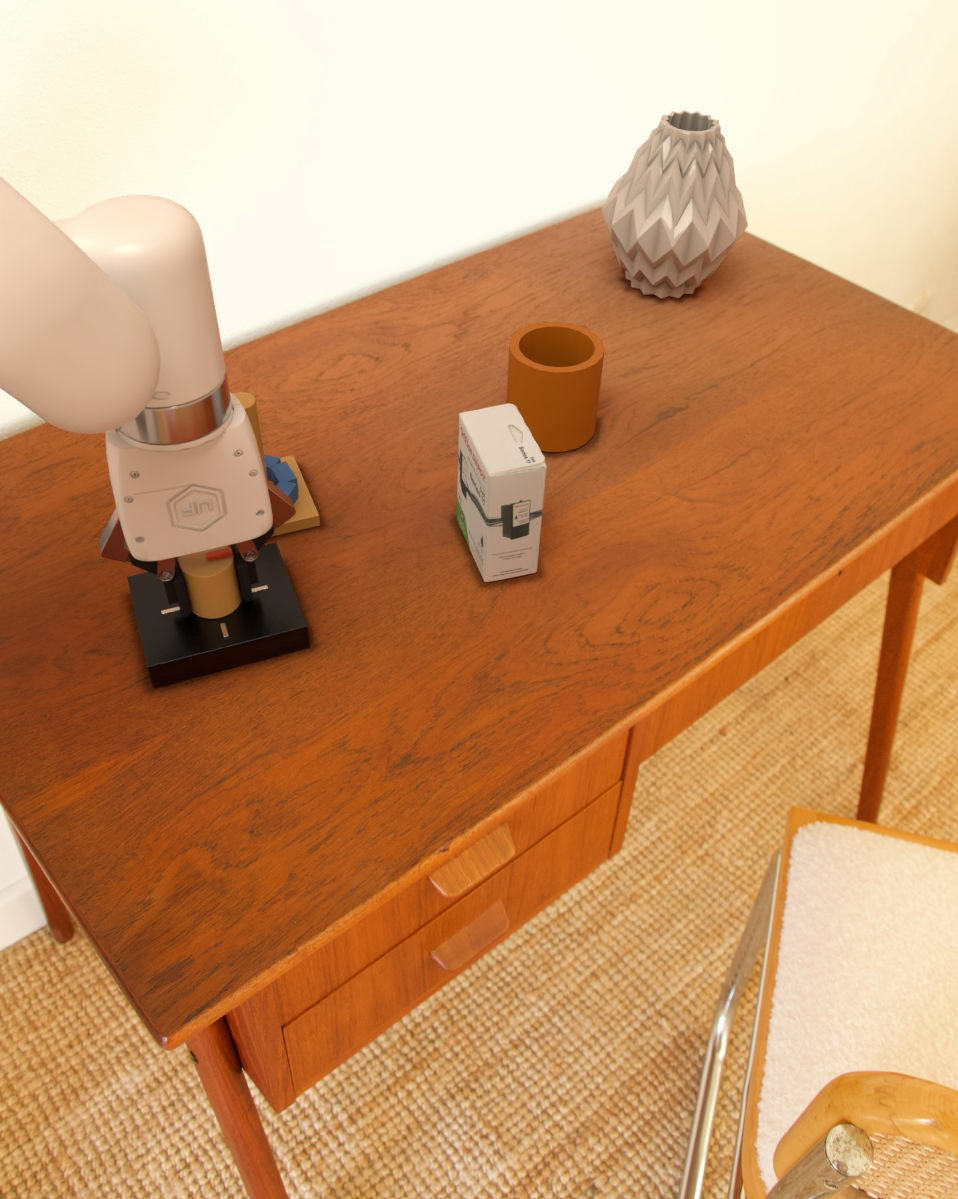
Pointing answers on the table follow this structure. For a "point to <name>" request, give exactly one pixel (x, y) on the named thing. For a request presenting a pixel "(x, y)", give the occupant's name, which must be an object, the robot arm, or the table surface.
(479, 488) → the ink box
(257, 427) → the wooden peg stand
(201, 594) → the rotary dial knob
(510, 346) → the mug
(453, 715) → the table surface
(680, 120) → the vase
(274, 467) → the segmented ring
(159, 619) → the black dial base plate
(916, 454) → the table surface
